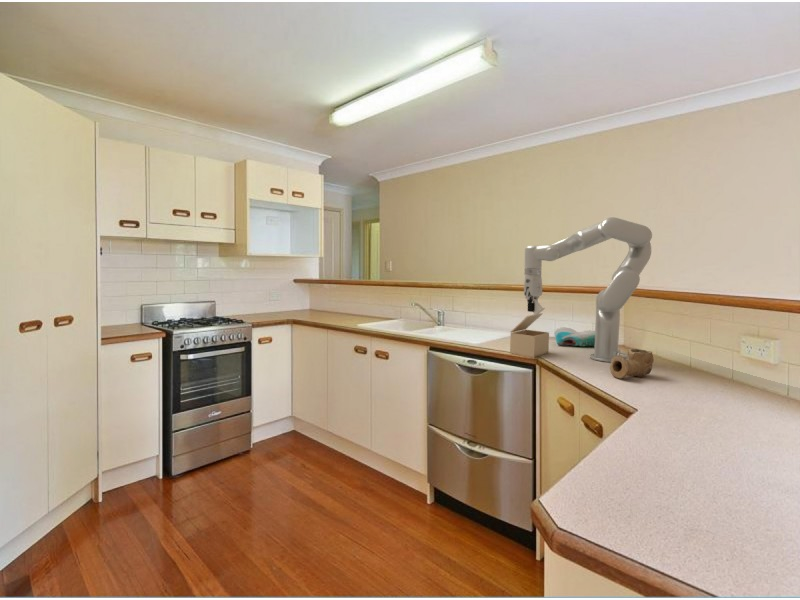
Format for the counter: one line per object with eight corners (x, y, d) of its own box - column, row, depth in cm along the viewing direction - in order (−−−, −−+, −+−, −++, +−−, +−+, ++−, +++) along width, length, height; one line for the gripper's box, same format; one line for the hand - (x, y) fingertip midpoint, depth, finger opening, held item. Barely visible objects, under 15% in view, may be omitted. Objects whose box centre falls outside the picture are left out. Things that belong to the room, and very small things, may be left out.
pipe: (605, 375, 156) (607, 350, 156) (636, 372, 162) (638, 347, 161) (626, 382, 148) (627, 355, 147) (658, 378, 154) (659, 351, 153)
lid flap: (549, 307, 194) (541, 298, 197) (535, 310, 184) (527, 300, 186) (525, 329, 204) (518, 319, 206) (510, 332, 193) (503, 322, 196)
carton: (548, 352, 196) (549, 332, 195) (533, 357, 185) (534, 336, 185) (525, 348, 205) (525, 329, 204) (510, 353, 194) (510, 333, 193)
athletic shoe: (551, 346, 215) (557, 332, 207) (552, 334, 222) (559, 319, 213) (603, 361, 209) (612, 346, 201) (603, 348, 215) (612, 333, 207)
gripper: (532, 272, 183) (532, 313, 184) (547, 271, 194) (547, 310, 196) (517, 272, 188) (516, 312, 190) (532, 271, 199) (532, 309, 201)
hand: (532, 311), depth 193 cm, fingers closed on lid flap
